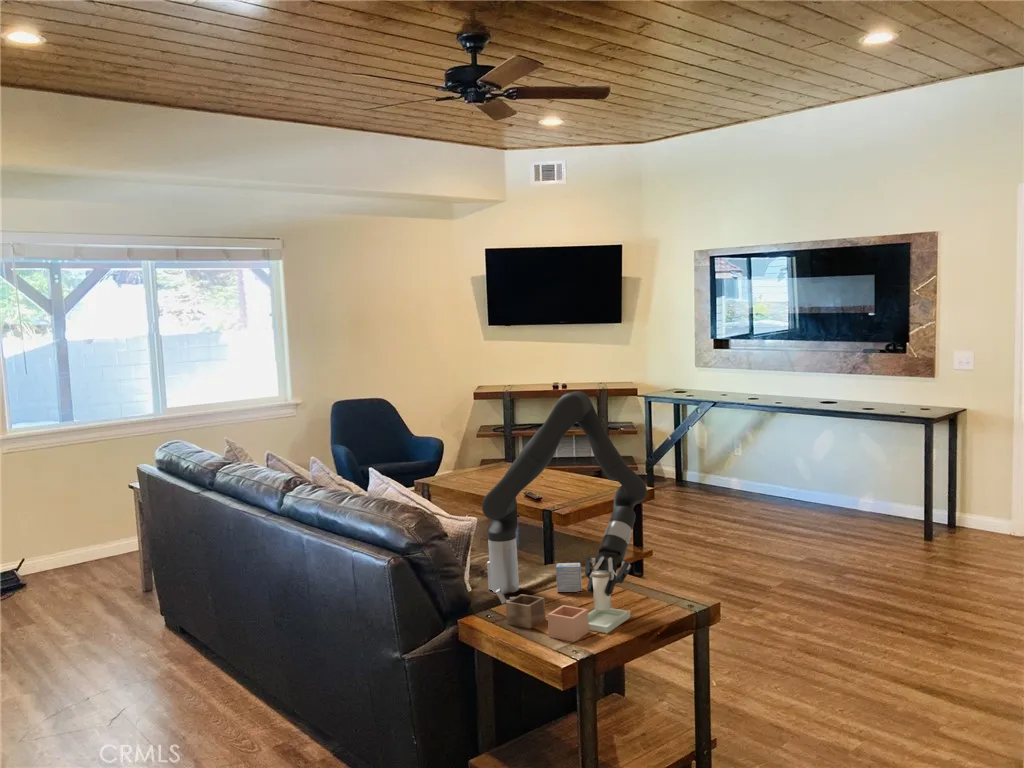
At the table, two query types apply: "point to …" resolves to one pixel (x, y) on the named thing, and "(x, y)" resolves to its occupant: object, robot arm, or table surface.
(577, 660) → the table surface
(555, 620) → the pink square bin
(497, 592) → the lighter
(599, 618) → the sage tray
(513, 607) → the brown open square box
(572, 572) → the medicine box
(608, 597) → the cream canister
